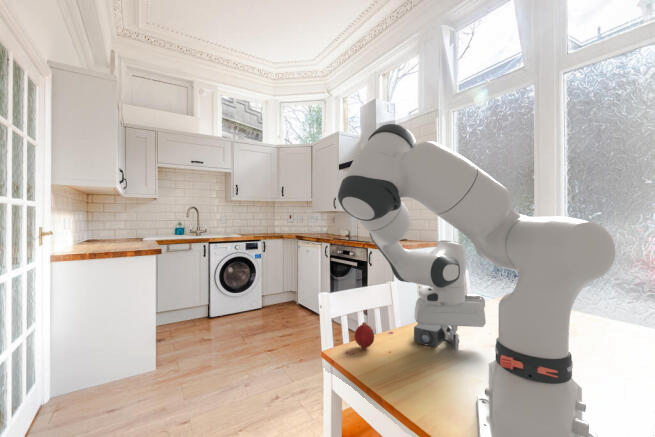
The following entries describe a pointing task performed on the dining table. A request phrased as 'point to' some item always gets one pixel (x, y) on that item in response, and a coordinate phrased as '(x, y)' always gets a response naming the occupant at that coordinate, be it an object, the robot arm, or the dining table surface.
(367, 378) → the dining table surface
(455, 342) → the side door
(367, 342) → the onion
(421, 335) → the camera body
